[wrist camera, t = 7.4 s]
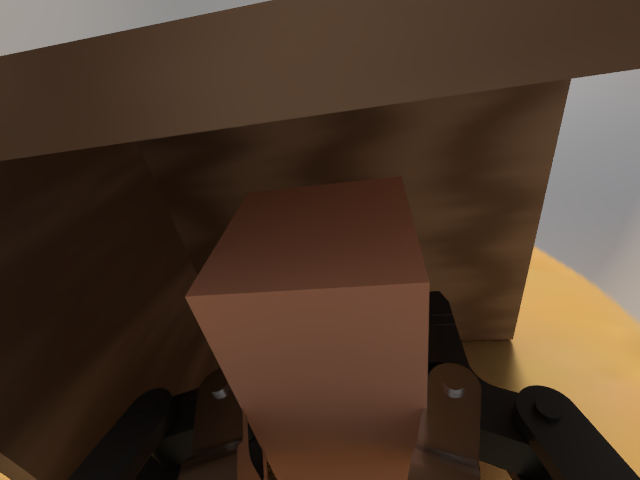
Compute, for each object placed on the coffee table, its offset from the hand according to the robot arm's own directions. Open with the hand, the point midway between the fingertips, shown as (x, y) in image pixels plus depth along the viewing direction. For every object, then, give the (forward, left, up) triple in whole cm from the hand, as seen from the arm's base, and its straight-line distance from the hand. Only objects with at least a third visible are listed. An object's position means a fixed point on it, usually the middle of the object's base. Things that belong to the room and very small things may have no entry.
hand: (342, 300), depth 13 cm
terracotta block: (0, -3, -7) cm, 8 cm away
